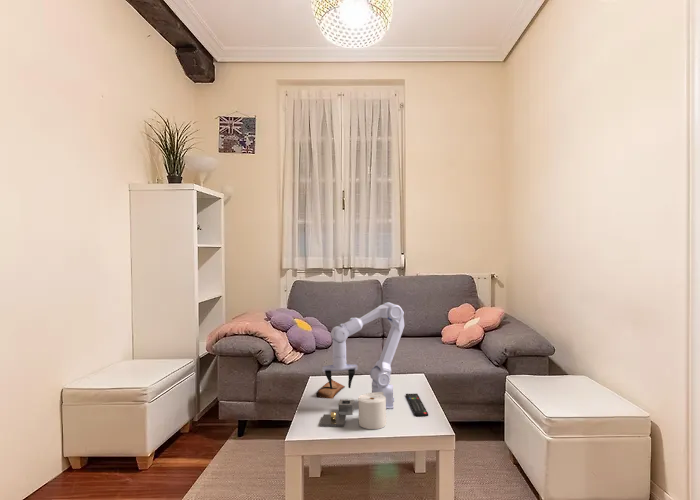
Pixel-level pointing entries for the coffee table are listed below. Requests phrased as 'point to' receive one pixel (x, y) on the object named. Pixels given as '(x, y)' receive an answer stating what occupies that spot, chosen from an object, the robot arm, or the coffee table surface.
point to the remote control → (417, 405)
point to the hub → (333, 420)
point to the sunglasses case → (329, 390)
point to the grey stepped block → (346, 407)
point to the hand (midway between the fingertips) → (340, 387)
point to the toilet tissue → (372, 410)
